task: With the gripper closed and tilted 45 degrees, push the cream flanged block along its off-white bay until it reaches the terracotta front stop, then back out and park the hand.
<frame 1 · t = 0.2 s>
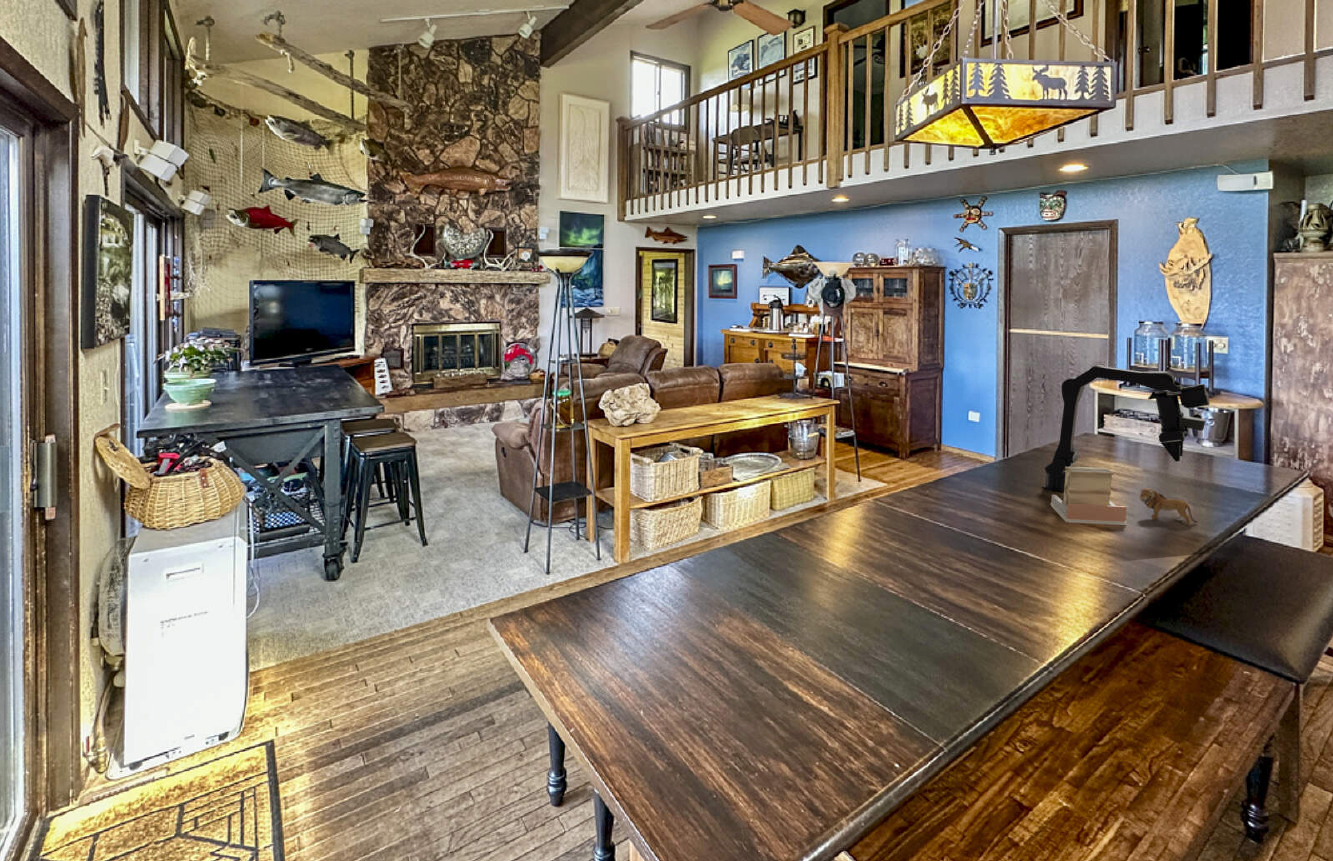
hand: (1179, 458, 220), 15 cm above the table, tool pointing down, fingers open, 9 cm apart
cream flanged block: (1086, 489, 216), point 8 cm above the table, slide at 0.0 cm
bay: (1086, 514, 216), on the table
lion figurine: (1164, 520, 209), on the table
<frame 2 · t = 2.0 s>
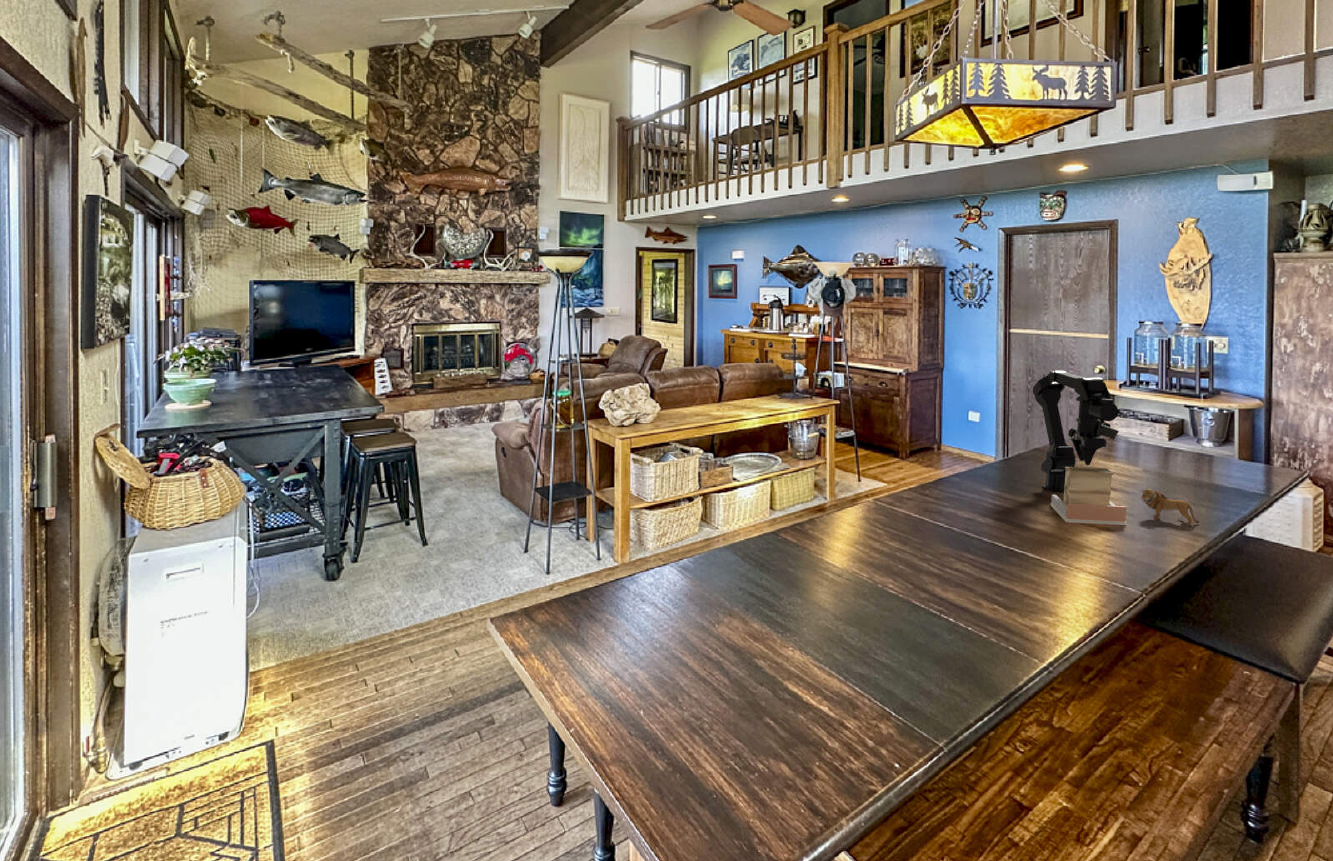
hand: (1084, 462, 228), 13 cm above the table, tool pointing down, fingers open, 6 cm apart
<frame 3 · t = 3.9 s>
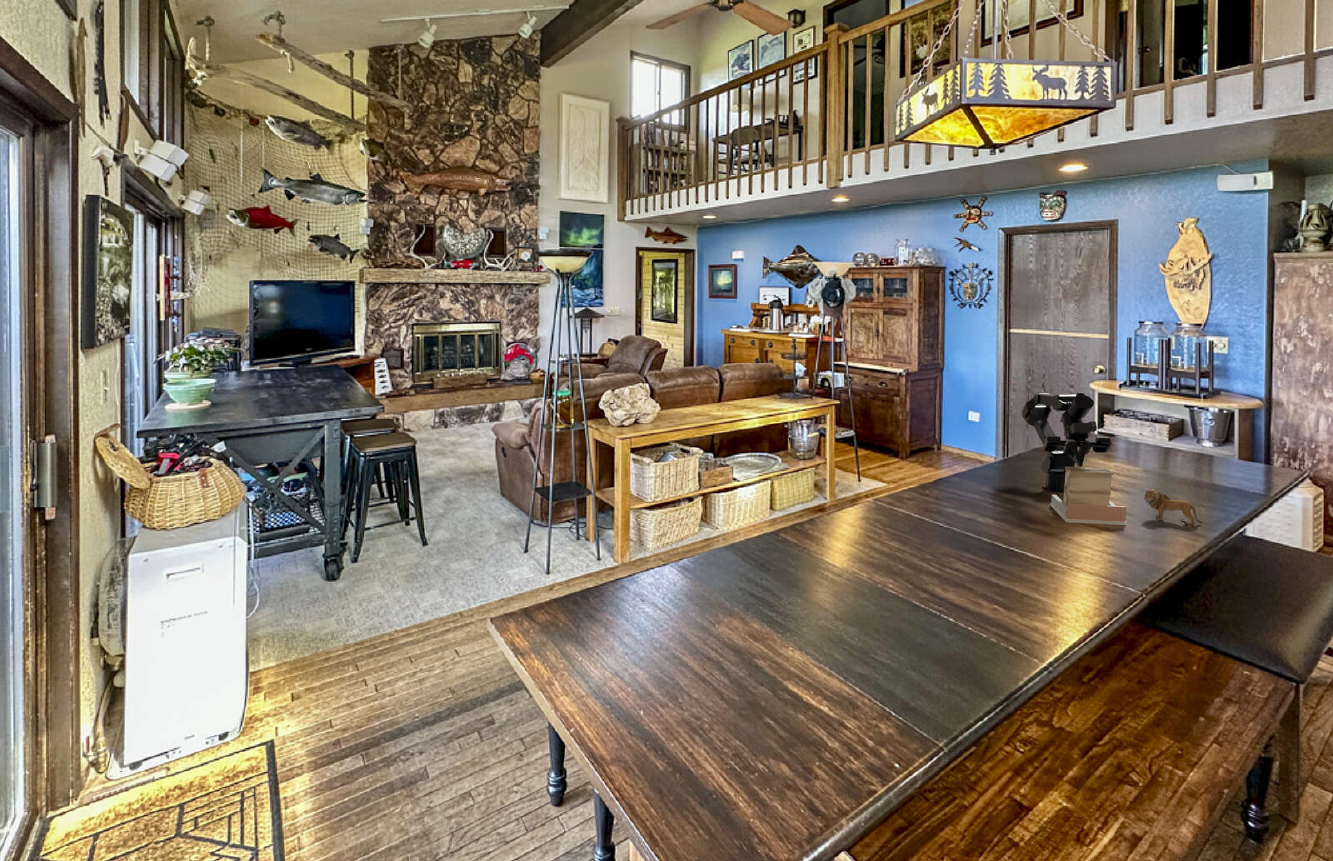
hand: (1080, 466, 222), 13 cm above the table, tool tilted 45°, fingers closed
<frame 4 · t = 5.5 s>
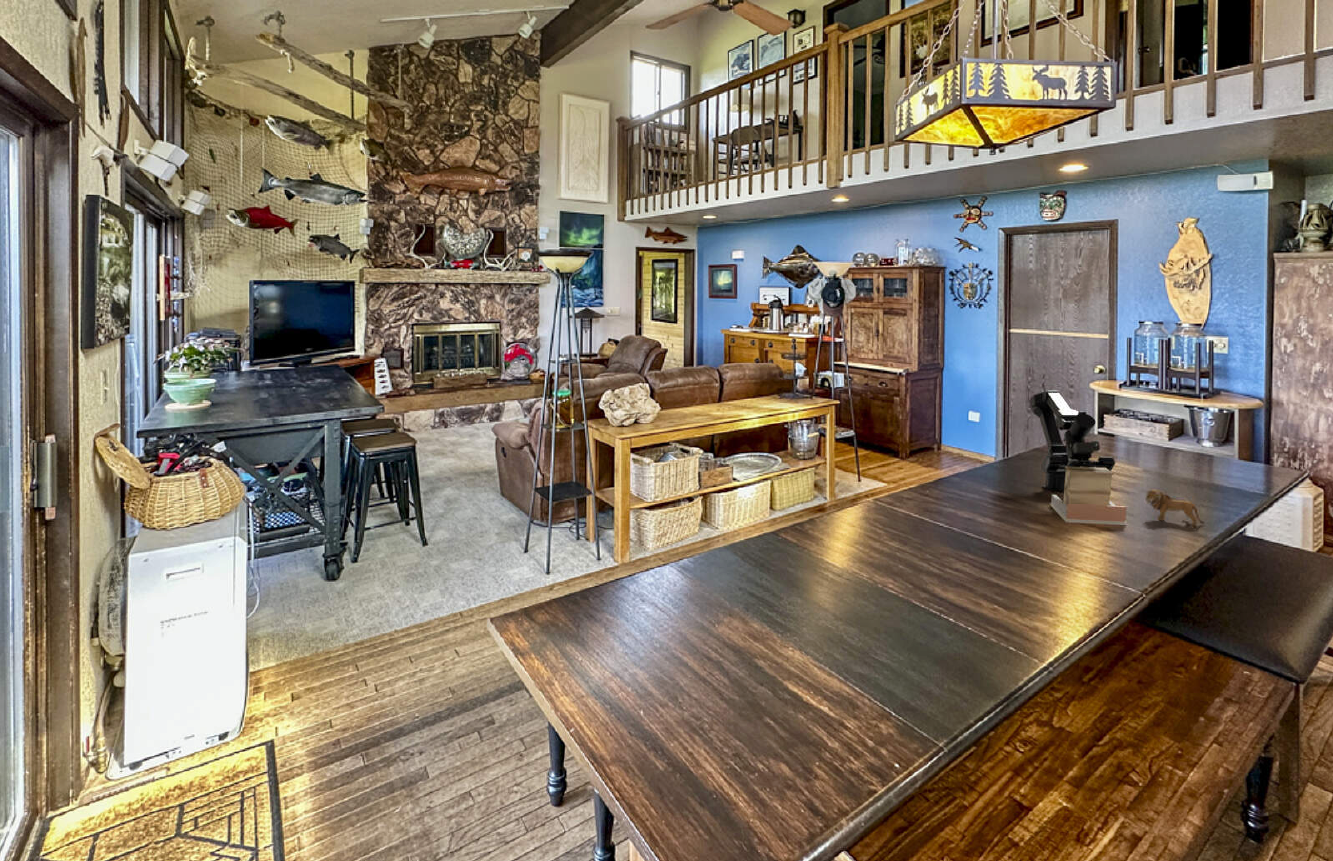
hand: (1083, 486, 219), 8 cm above the table, tool tilted 45°, fingers closed, pressing on cream flanged block
cream flanged block: (1086, 489, 216), point 8 cm above the table, slide at 0.0 cm, touching gripper
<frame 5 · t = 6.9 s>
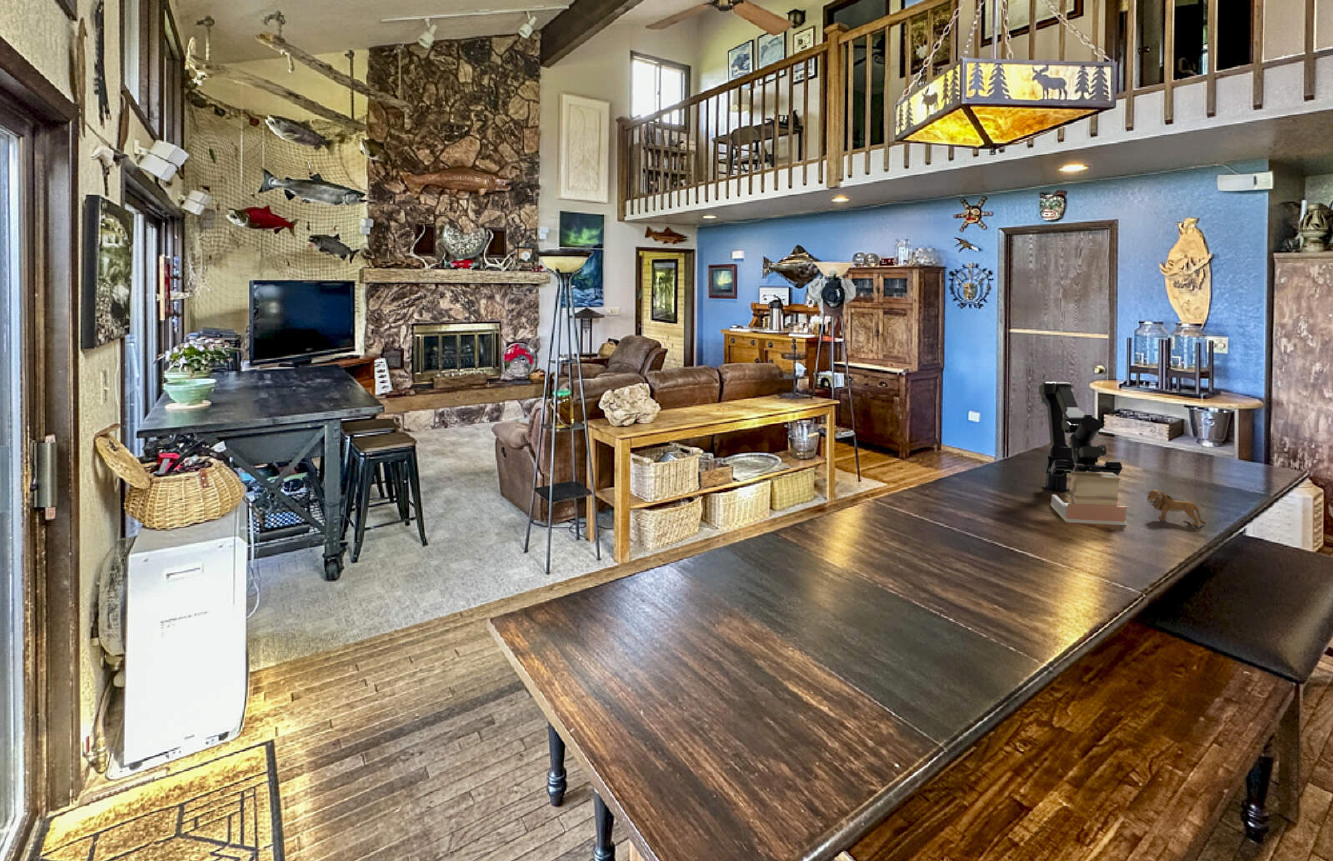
hand: (1090, 491, 213), 8 cm above the table, tool tilted 45°, fingers closed, pressing on cream flanged block
cream flanged block: (1093, 495, 210), point 8 cm above the table, slide at 6.3 cm, touching gripper
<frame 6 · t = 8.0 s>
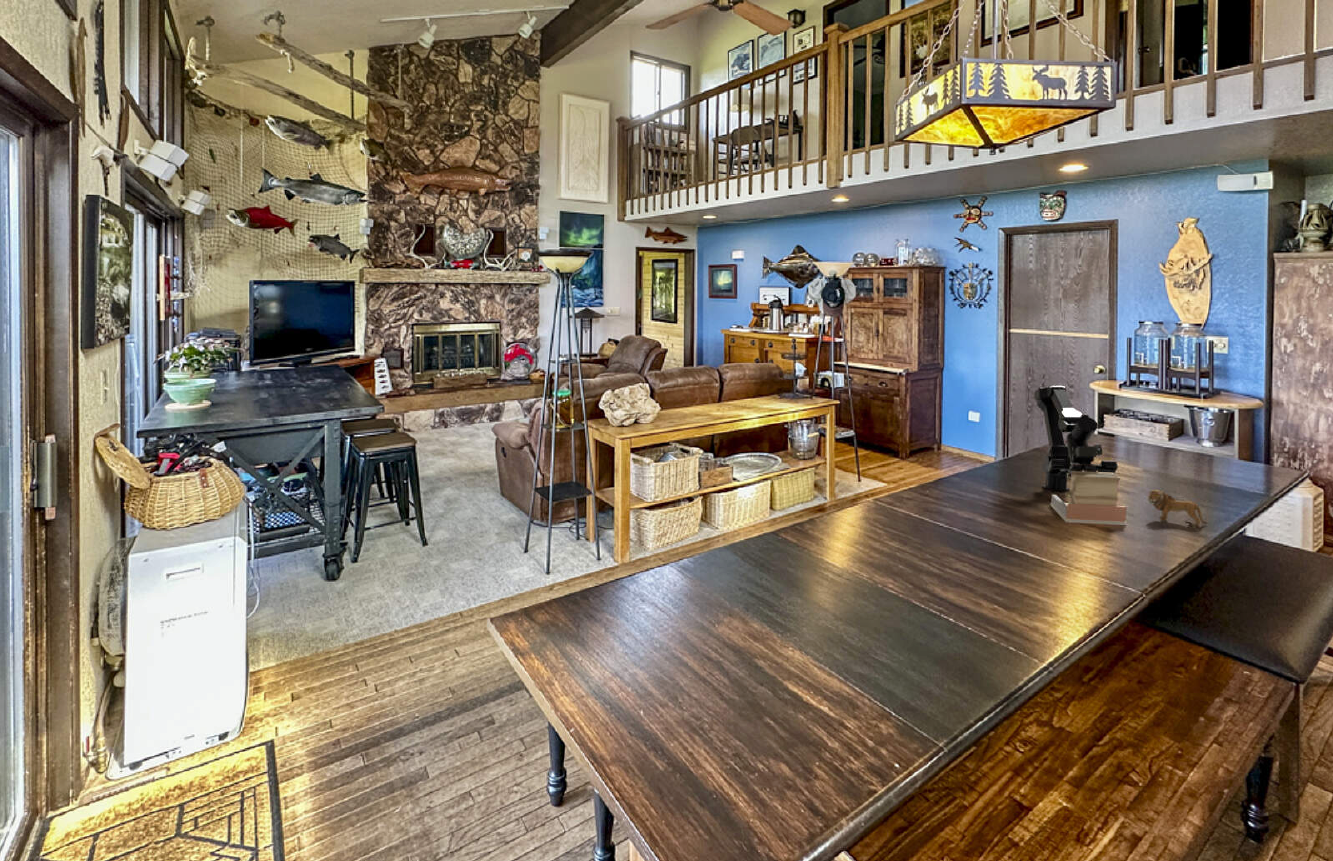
hand: (1085, 490, 217), 7 cm above the table, tool tilted 45°, fingers closed
cream flanged block: (1093, 495, 210), point 8 cm above the table, slide at 6.0 cm
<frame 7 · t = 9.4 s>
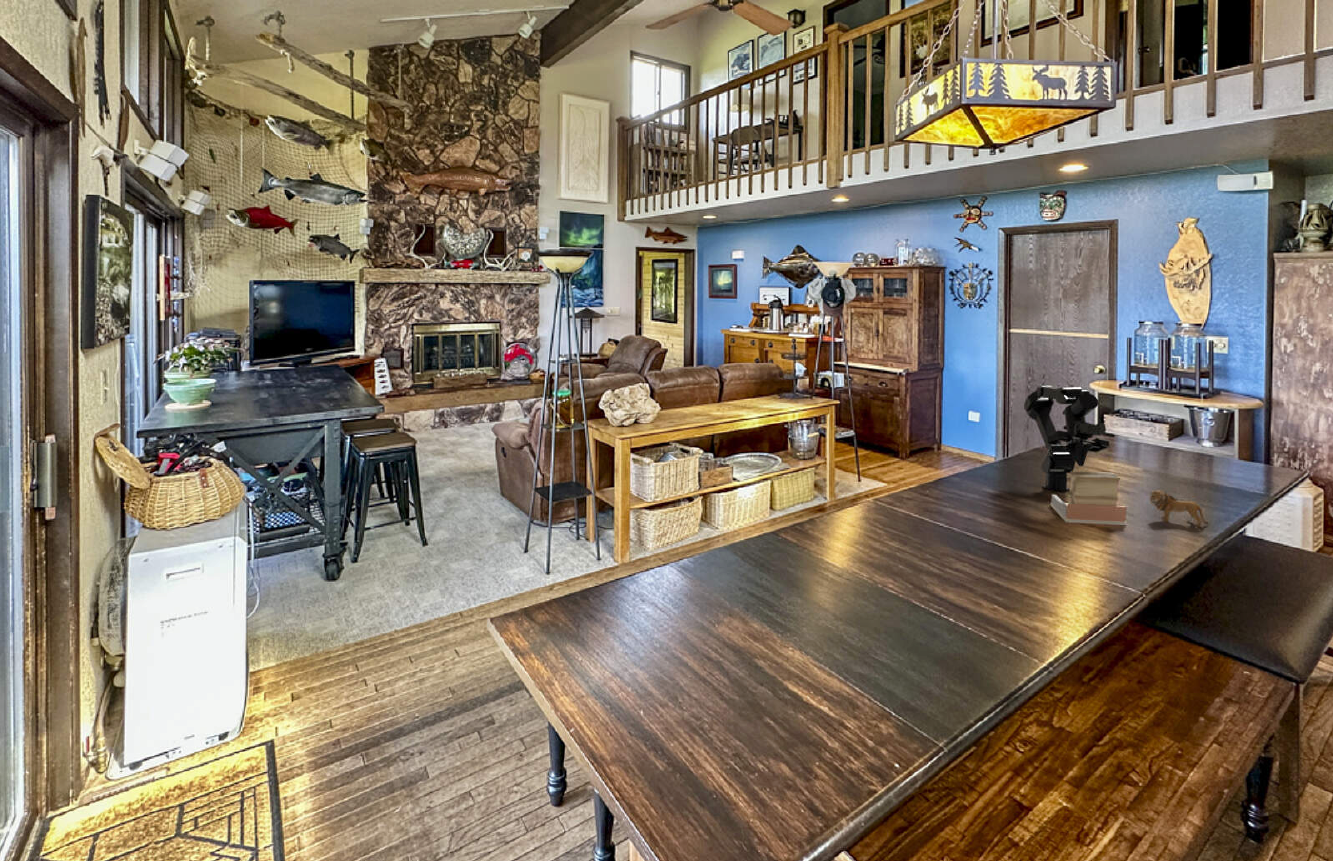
hand: (1081, 465, 224), 13 cm above the table, tool tilted 35°, fingers closed
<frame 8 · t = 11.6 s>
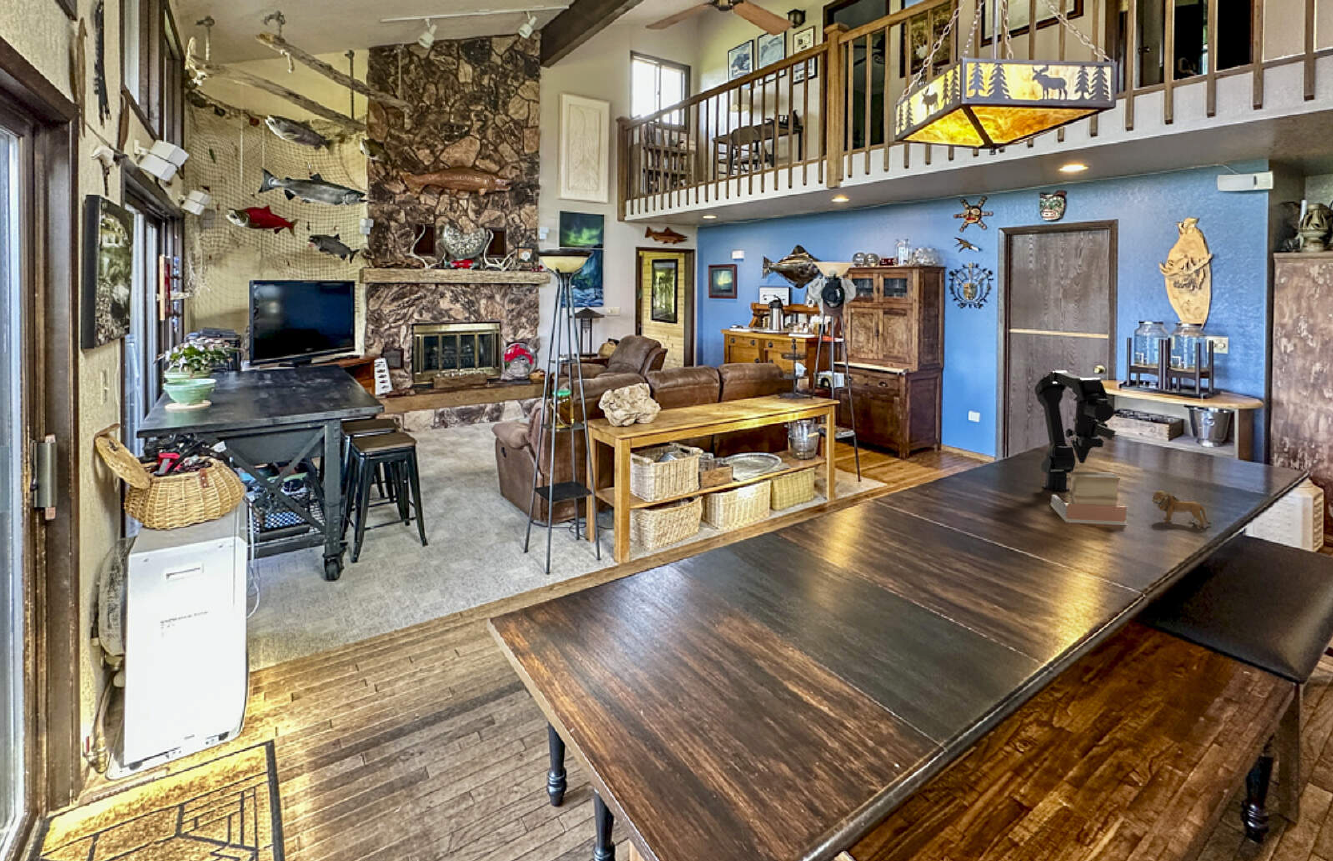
hand: (1081, 463, 228), 13 cm above the table, tool pointing down, fingers closed
at the end: cream flanged block slide at 6.0 cm; lion figurine moved 3.5 cm from its start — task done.
